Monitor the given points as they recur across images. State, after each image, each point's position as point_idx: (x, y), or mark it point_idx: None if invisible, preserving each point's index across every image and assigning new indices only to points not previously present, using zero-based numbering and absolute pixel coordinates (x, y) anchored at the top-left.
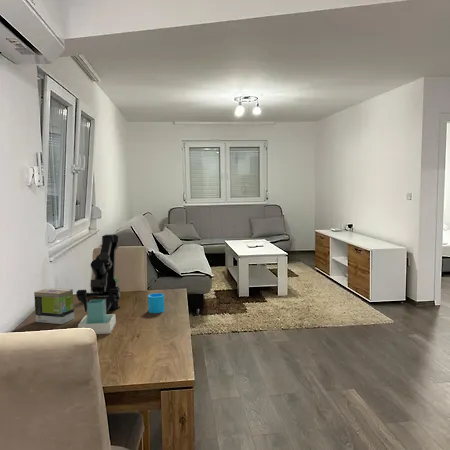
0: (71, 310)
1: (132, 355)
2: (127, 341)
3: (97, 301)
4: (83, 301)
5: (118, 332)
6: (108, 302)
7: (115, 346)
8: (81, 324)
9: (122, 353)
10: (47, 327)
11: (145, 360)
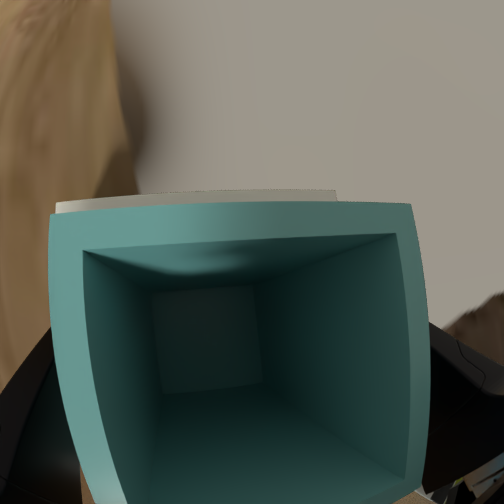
0: (448, 486)
1: (23, 16)
2: (3, 110)
3: (284, 501)
4: (486, 360)
5: (37, 250)
6: (9, 415)
7: (59, 56)
8: (311, 194)
9: (46, 18)
10: (473, 341)
11: (5, 6)
